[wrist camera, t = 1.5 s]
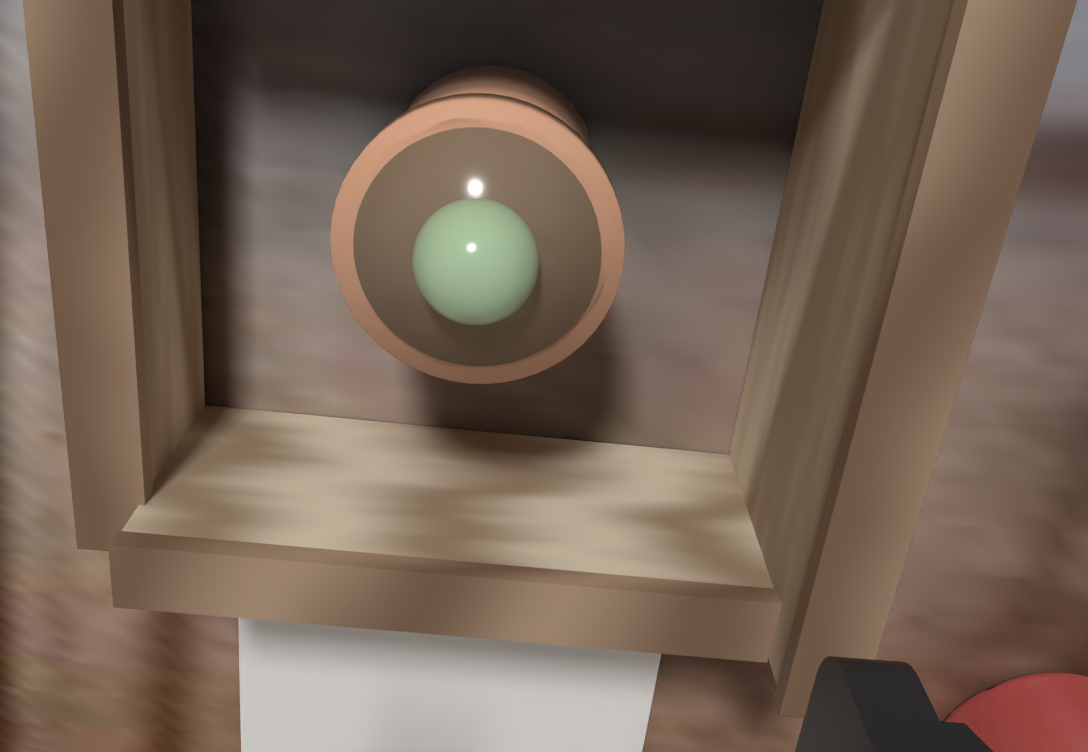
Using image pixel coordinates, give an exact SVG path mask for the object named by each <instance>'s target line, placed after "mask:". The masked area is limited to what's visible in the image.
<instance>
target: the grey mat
mask: <svg viewBox="0 0 1088 752" xmlns="http://www.w3.org/2000/svg"><path fill="white" fill-rule="evenodd" d="M238 622H239V668H240V714H241V752H642V750H643V745H644V740H645V735H646V730H647V725H648V719H649V714H650V709H651V704H652V699H653V694H654V689H655V684H656V679H657V673H658V668H659V663H660V658H661V654H658V653H647V652H635V651H623V650H611V649H599V648H588V647H576V646H564V645H552V644H541V643H529V642H517V641H505V640H493V639H482V638H470V637H458V636H446V635H435V634H423V633H411V632H399V631H388V630H376V629H364V628H352V627H340V626H329V625H317V624H305V623H293V622H282V621H270V620H258V619H246V618H238Z"/></svg>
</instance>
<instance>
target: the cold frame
mask: <svg viewBox="0 0 1088 752" xmlns="http://www.w3.org/2000/svg"><path fill="white" fill-rule="evenodd" d="M1076 2H1077V0H824V3H823V7H822V12H821V17H820V22H819V27H818V31H817V36H816V41H815V46H814V50H813V55H812V60H811V65H810V70H809V74H808V79H807V84H806V89H805V94H804V98H803V103H802V108H801V113H800V117H799V122H798V127H797V132H796V137H795V141H794V146H793V151H792V156H791V161H790V165H789V170H788V175H787V180H786V185H785V189H784V194H783V199H782V204H781V208H780V213H779V218H778V223H777V228H776V232H775V237H774V242H773V247H772V252H771V256H770V261H769V266H768V271H767V275H766V280H765V285H764V290H763V295H762V299H761V304H760V309H759V314H758V319H757V323H756V328H755V333H754V338H753V343H752V347H751V352H750V357H749V362H748V366H747V371H746V376H745V381H744V386H743V390H742V395H741V400H740V405H739V410H738V414H737V419H736V424H735V429H734V433H733V438H732V443H731V448H730V453H729V455H728V454H717V453H706V452H696V451H685V450H675V449H664V448H653V447H643V446H632V445H621V444H611V443H600V442H590V441H579V440H568V439H558V438H547V437H536V436H526V435H515V434H505V433H494V432H483V431H473V430H462V429H451V428H441V427H430V426H420V425H409V424H398V423H388V422H377V421H367V420H356V419H345V418H335V417H324V416H313V415H303V414H292V413H282V412H271V411H260V410H250V409H239V408H228V407H218V406H207V405H205V390H204V361H203V332H202V304H201V275H200V246H199V218H198V189H197V160H196V131H195V103H194V74H193V45H192V17H191V0H23V7H24V17H25V27H26V37H27V47H28V57H29V67H30V77H31V87H32V97H33V107H34V117H35V127H36V137H37V147H38V158H39V168H40V178H41V188H42V198H43V208H44V218H45V228H46V238H47V248H48V258H49V268H50V278H51V288H52V298H53V308H54V318H55V328H56V338H57V348H58V358H59V368H60V378H61V389H62V399H63V409H64V419H65V429H66V439H67V449H68V459H69V469H70V479H71V489H72V499H73V509H74V519H75V529H76V539H77V548H78V549H90V550H101V551H109V560H110V572H111V584H112V596H113V607H117V608H129V609H140V610H152V611H164V612H176V613H187V614H199V615H211V616H223V617H234V618H246V619H258V620H270V621H282V622H293V623H305V624H317V625H329V626H340V627H352V628H364V629H376V630H388V631H399V632H411V633H423V634H435V635H446V636H458V637H470V638H482V639H493V640H505V641H517V642H529V643H541V644H552V645H564V646H576V647H588V648H599V649H611V650H623V651H635V652H647V653H658V654H670V655H682V656H694V657H705V658H717V659H729V660H741V661H752V662H764V663H767V661H768V659H769V662H770V665H771V669H772V672H773V676H774V679H775V682H776V686H777V687H776V691H775V695H774V700H775V703H776V707H777V710H778V714H779V716H789V717H801V718H804V717H805V713H806V710H807V706H808V703H809V699H810V695H811V692H812V688H813V685H814V681H815V677H816V674H817V671H818V668H819V666H820V664H821V662H822V661H823V660H824V659H825V658H826V657H828V656H835V657H847V658H860V659H872V660H875V658H876V655H877V651H878V648H879V645H880V642H881V638H882V635H883V632H884V629H885V625H886V622H887V619H888V616H889V612H890V609H891V606H892V602H893V599H894V596H895V593H896V589H897V586H898V583H899V580H900V576H901V573H902V570H903V567H904V563H905V560H906V557H907V553H908V550H909V547H910V544H911V540H912V537H913V534H914V531H915V527H916V524H917V521H918V518H919V514H920V511H921V508H922V505H923V501H924V498H925V495H926V491H927V488H928V485H929V482H930V478H931V475H932V472H933V469H934V465H935V462H936V459H937V456H938V452H939V449H940V446H941V442H942V439H943V436H944V433H945V429H946V426H947V423H948V420H949V416H950V413H951V410H952V407H953V403H954V400H955V397H956V393H957V390H958V387H959V384H960V380H961V377H962V374H963V371H964V367H965V364H966V361H967V358H968V354H969V351H970V348H971V345H972V341H973V338H974V335H975V331H976V328H977V325H978V322H979V318H980V315H981V312H982V309H983V305H984V302H985V299H986V296H987V292H988V289H989V286H990V282H991V279H992V276H993V273H994V269H995V266H996V263H997V260H998V256H999V253H1000V250H1001V247H1002V243H1003V240H1004V237H1005V233H1006V230H1007V227H1008V224H1009V220H1010V217H1011V214H1012V211H1013V207H1014V204H1015V201H1016V198H1017V194H1018V191H1019V188H1020V184H1021V181H1022V178H1023V175H1024V171H1025V168H1026V165H1027V162H1028V158H1029V155H1030V152H1031V149H1032V145H1033V142H1034V139H1035V136H1036V132H1037V129H1038V126H1039V122H1040V119H1041V116H1042V113H1043V109H1044V106H1045V103H1046V100H1047V96H1048V93H1049V90H1050V87H1051V83H1052V80H1053V77H1054V73H1055V70H1056V67H1057V64H1058V60H1059V57H1060V54H1061V51H1062V47H1063V44H1064V41H1065V38H1066V34H1067V31H1068V28H1069V24H1070V21H1071V18H1072V15H1073V11H1074V8H1075V5H1076Z"/></svg>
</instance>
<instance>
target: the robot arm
mask: <svg viewBox="0 0 1088 752" xmlns="http://www.w3.org/2000/svg"><path fill="white" fill-rule="evenodd" d="M795 752H993V751H992V750H991V749H990V748H989V747H988V746H987V745H986V744H985V743H984V742H983V741H982V740H981V739H980V738H979V737H978V736H977V735H976V734H975V733H974V732H973V731H972V730H971V729H970V728H969V727H968V726H967V725H966V724H965V723H956V722H943V721H940V720H939V718H938V716H937V714H936V712H935V710H934V708H933V706H932V704H931V702H930V700H929V698H928V696H927V694H926V692H925V690H924V688H923V686H922V684H921V682H920V679H919V677H918V675H917V674H916V672H915V670H914V669H913V668H912V667H911V666H910V665H909V664H908V663H905V662H897V661H885V660H872V659H860V658H847V657H835V656H828V657H826V658H825V659H824V660H823V661H822V662H821V664H820V666H819V668H818V671H817V674H816V677H815V681H814V685H813V688H812V692H811V695H810V699H809V703H808V706H807V710H806V713H805V717H804V721H803V724H802V728H801V732H800V735H799V739H798V742H797V746H796V750H795Z"/></svg>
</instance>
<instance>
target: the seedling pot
mask: <svg viewBox="0 0 1088 752" xmlns="http://www.w3.org/2000/svg"><path fill="white" fill-rule="evenodd" d="M330 238H331V256H332V261H333V267H334V272H335V275H336V278H337V282H338V285H339V288H340V291H341V293H342V295H343V297H344V299H345V301H346V303H347V305H348V307H349V309H350V310H351V312H352V313H353V315H354V317H355V318H356V320H357V321H358V323H359V324H360V325H361V326H362V327H363V329H364V330H365V331H366V332H367V333H368V335H369V336H370V337H371V338H372V339H373V340H374V341H376V342H377V343H378V344H379V345H380V346H381V347H382V348H383V349H384V350H386V351H387V352H388V353H390V354H391V355H393V356H394V357H395V358H397V359H398V360H400V361H402V362H403V363H405V364H407V365H409V366H410V367H412V368H414V369H416V370H419V371H421V372H424V373H426V374H429V375H431V376H434V377H438V378H442V379H445V380H449V381H455V382H461V383H471V384H491V383H503V382H508V381H513V380H518V379H522V378H525V377H528V376H531V375H534V374H537V373H539V372H541V371H544V370H546V369H548V368H550V367H552V366H554V365H556V364H557V363H559V362H560V361H562V360H563V359H565V358H567V357H568V356H569V355H571V354H572V353H573V352H574V351H575V350H577V349H578V348H579V347H580V346H581V345H583V344H584V343H585V341H586V340H587V339H588V338H589V337H590V336H591V335H592V334H593V333H594V332H595V330H596V329H597V328H598V326H599V325H600V323H601V322H602V320H603V319H604V318H605V316H606V314H607V312H608V310H609V308H610V307H611V305H612V303H613V301H614V298H615V295H616V293H617V290H618V287H619V284H620V280H621V275H622V271H623V266H624V253H625V241H624V228H623V223H622V218H621V213H620V208H619V204H618V200H617V197H616V194H615V191H614V188H613V185H612V182H611V180H610V178H609V176H608V174H607V172H606V170H605V168H604V166H603V164H602V162H601V161H600V159H599V158H598V157H597V155H596V154H595V152H594V150H593V146H592V141H591V138H590V136H589V133H588V130H587V128H586V126H585V124H584V122H583V120H582V118H581V116H580V115H579V113H578V112H577V110H576V109H575V107H574V106H573V105H572V103H571V102H570V101H569V100H568V99H567V98H566V97H565V96H564V95H563V94H562V93H561V92H560V91H559V90H557V89H556V88H555V87H554V86H553V85H551V84H549V83H548V82H546V81H545V80H543V79H542V78H540V77H538V76H536V75H533V74H531V73H529V72H526V71H523V70H520V69H517V68H512V67H507V66H498V65H483V66H473V67H469V68H465V69H460V70H458V71H455V72H453V73H450V74H447V75H446V76H444V77H442V78H440V79H438V80H436V81H435V82H433V83H432V84H431V85H429V86H428V87H427V88H425V89H424V90H423V91H422V92H421V93H420V94H419V95H418V96H417V97H416V98H415V99H414V100H413V102H412V103H411V104H410V106H409V107H408V108H407V109H406V111H405V113H403V114H401V115H399V116H398V117H397V118H395V119H394V120H393V121H391V122H390V123H389V124H387V125H386V126H385V127H384V128H383V129H382V130H381V131H380V132H379V133H378V134H377V135H376V136H375V137H374V138H373V139H372V140H371V141H370V142H369V143H368V145H367V146H366V147H365V149H364V150H363V151H362V153H361V154H360V155H359V157H358V158H357V160H356V161H355V162H354V164H353V165H352V167H351V169H350V171H349V172H348V174H347V176H346V178H345V179H344V181H343V184H342V186H341V189H340V191H339V194H338V196H337V199H336V203H335V207H334V212H333V216H332V224H331V235H330Z"/></svg>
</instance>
